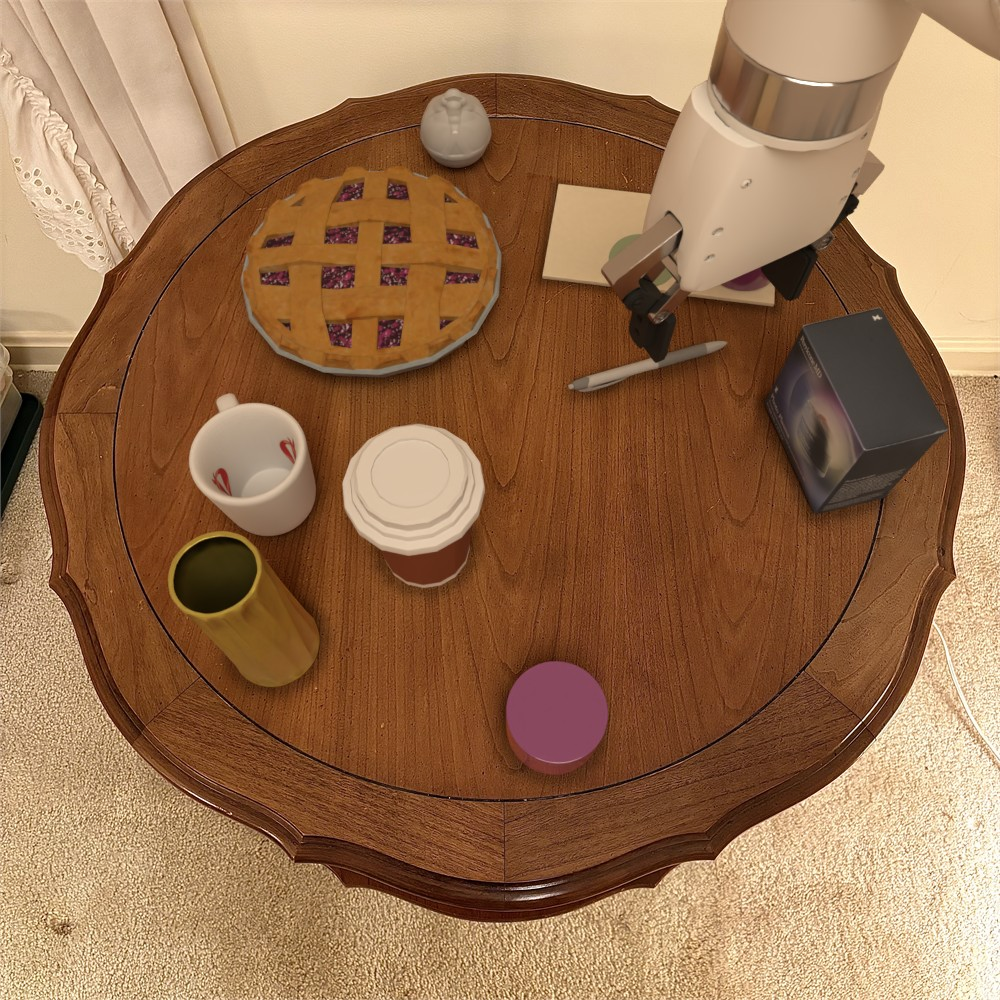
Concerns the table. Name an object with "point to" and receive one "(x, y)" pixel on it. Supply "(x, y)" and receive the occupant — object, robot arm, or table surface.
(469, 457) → the coffee cup
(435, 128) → the figurine
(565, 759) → the purple short cylinder
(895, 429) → the small box
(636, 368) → the pen
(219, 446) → the cup
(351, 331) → the pie
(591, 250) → the placemat
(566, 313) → the table surface
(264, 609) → the vase
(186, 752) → the table surface
